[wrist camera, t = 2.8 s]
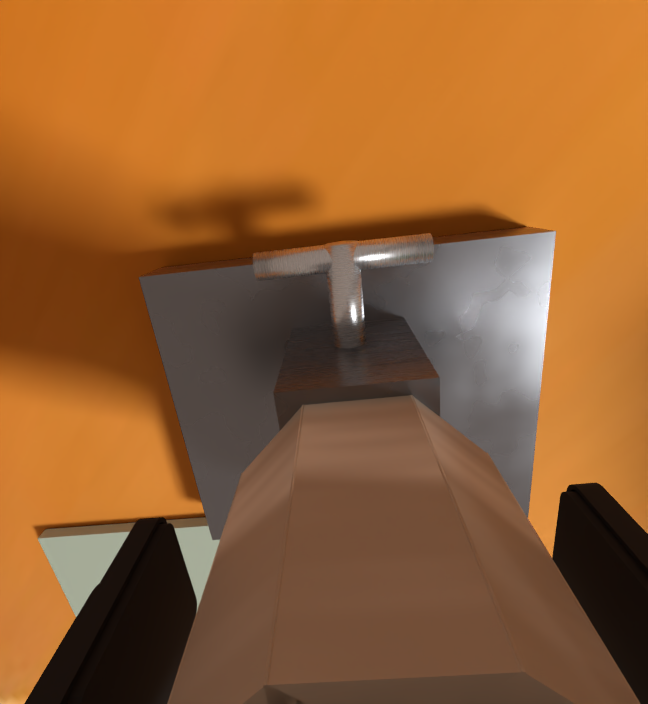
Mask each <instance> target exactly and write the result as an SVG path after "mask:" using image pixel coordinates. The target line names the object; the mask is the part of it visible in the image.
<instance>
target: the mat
mask: <svg viewBox="0 0 648 704" xmlns="http://www.w3.org/2000/svg"><path fill="white" fill-rule="evenodd" d="M166 521H167V523H171V524H173V527H174V529H175V533H176V536H177V539H178V542H179V545H180V548H181V551H182V555H183V558H184V561H185V564H186V567H187V570H188V573H189V577H190V580H191V583H192V586H193V589H194V592H195V595H196V599H197V610H198V607H199V604H200V601H201V598H202V595H203V591H204V588H205V585H206V582H207V579H208V576H209V573H210V570H211V567H212V563H213V560H214V557H215V554H216V551H217V548H218V545H219V542H220V540H212V537H211V534H210V530H209V526H208V523H207V519H206V517H201V518H188V519H175V520H166ZM135 523H136V522H135ZM135 523H121V524H108V525H95V526H81V527H68V528H55V529H45V530H44V532H43V533H42V534H41V535H40V536H39V537H38V540H39V542H40V544H41V546H42V548H43V550H44V552H45V554H46V556H47V559H48V561H49V563H50V565H51V567H52V569H53V571H54V573H55V575H56V577H57V579H58V581H59V583H60V585H61V587H62V589H63V591H64V593H65V595H66V597H67V599H68V601H69V603H70V605H71V608H72V610H73V612H74V614H75V616H76V617H77V615H78V614H79V612H80V610H81V609H82V607H83V605H84V604H85V602H86V600H87V599H88V597H89V595H90V594H91V592H92V591H93V590H94V588H95V587H96V586H97V585H98V584H99V583H100V582H101V580H102V578H103V576H104V575H105V573H106V571H107V570H108V568H109V566H110V565H111V563H112V561H113V560H114V558H115V556H116V555H117V553H118V551H119V550H120V548H121V546H122V544H123V543H124V541H125V539H126V538H127V536H128V534H129V533H130V531H131V529H132V528H133V526H134V524H135ZM196 613H197V612H196Z"/></svg>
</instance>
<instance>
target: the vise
mask: <svg viewBox="0 0 648 704" xmlns="http://www.w3.org/2000/svg"><path fill="white" fill-rule="evenodd" d="M555 236H556V231H552V230H545V229H539V228H533V227H520V228H511V229H502V230H493V231H484V232H475V233H466V234H457V235H448V236H439V237H432V235H431V233H426V234H417V235H408V236H399V237H390V238H381V239H372V240H364V241H356V240H349V241H338V242H332V243H327V244H324V245H319V246H310V247H301V248H292V249H283V250H274V251H265V252H256V253H253V257H250V258H241V259H232V260H223V261H214V262H205V263H196V264H187V265H178V266H169V267H161V268H159V269H157V270H154V271H152V272H150V273H147V274H145V275H143V276H140V277H139V280H140V284H141V287H142V291H143V294H144V298H145V302H146V305H147V309H148V312H149V316H150V319H151V323H152V327H153V330H154V334H155V337H156V341H157V344H158V348H159V352H160V355H161V359H162V362H163V366H164V369H165V373H166V377H167V380H168V384H169V387H170V391H171V394H172V398H173V402H174V405H175V409H176V412H177V416H178V419H179V423H180V426H181V430H182V434H183V437H184V441H185V444H186V448H187V451H188V455H189V459H190V462H191V466H192V469H193V473H194V476H195V480H196V484H197V487H198V491H199V494H200V498H201V501H202V505H203V509H204V512H205V516H206V519H207V523H208V526H209V530H210V534H211V537H212V540H220V539H221V535H222V532H223V529H224V526H225V523H226V520H227V517H228V514H229V511H230V508H231V504H232V501H233V498H234V495H235V492H236V489H237V486H238V483H239V480H240V476H241V473H243V472H244V471H245V469H246V468H247V467H248V466H249V465H250V464H251V463H252V462H253V460H254V459H255V458H256V457H257V456H258V455H259V454H260V453H261V451H262V450H263V449H264V448H265V447H266V446H267V445H268V444H269V442H270V441H271V440H272V439H273V438H274V437H275V436H276V435H277V434H278V432H279V431H280V430H281V429H282V428H283V427H284V426H285V425H286V423H287V422H288V421H289V420H290V419H291V418H292V417H293V416H294V414H295V413H296V412H297V411H298V410H299V409H300V408H301V407H302V405H303V404H304V405H308V404H320V403H331V402H342V401H353V400H364V399H375V398H386V397H398V396H409V395H413V397H415V398H416V399H417V400H419V401H420V402H421V403H423V404H424V405H425V406H426V407H428V408H429V409H430V410H432V411H433V412H434V413H436V414H437V415H438V416H439V417H441V418H442V419H443V420H445V421H446V422H447V423H449V424H450V425H451V426H452V427H454V428H455V429H456V430H458V431H459V432H460V433H462V434H463V435H464V436H465V437H467V438H468V439H469V440H471V441H472V442H473V443H475V444H476V445H477V446H478V447H480V448H481V449H482V450H484V451H485V452H486V453H488V454H489V456H490V457H491V459H492V461H493V462H494V464H495V466H496V467H497V469H498V470H499V472H500V474H501V475H502V477H503V479H504V480H505V482H506V484H507V485H508V487H509V489H510V490H511V492H512V493H513V495H514V497H515V498H516V500H517V502H518V503H519V505H520V507H521V508H522V510H523V512H524V513H525V515H526V516H527V518H528V512H529V502H530V492H531V482H532V471H533V461H534V451H535V441H536V430H537V420H538V410H539V400H540V389H541V379H542V369H543V359H544V348H545V338H546V328H547V318H548V307H549V297H550V287H551V277H552V266H553V256H554V246H555Z"/></svg>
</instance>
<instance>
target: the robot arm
mask: <svg viewBox="0 0 648 704" xmlns="http://www.w3.org/2000/svg"><path fill="white" fill-rule="evenodd" d="M552 559H553V561H554V562H555V564H556V566H557V567H558V569H559V571H560V572H561V574H562V576H563V577H564V579H565V581H566V582H567V584H568V585H569V587H570V589H571V590H572V592H573V594H574V595H575V597H576V599H577V600H578V602H579V604H580V605H581V607H582V608H583V610H584V612H585V613H586V615H587V617H588V618H589V620H590V622H591V623H592V625H593V627H594V628H595V630H596V631H597V633H598V635H599V636H600V638H601V640H602V641H603V643H604V645H605V646H606V648H607V650H608V651H609V653H610V654H611V656H612V658H613V659H614V661H615V663H616V664H617V666H618V668H619V669H620V671H621V673H622V674H623V676H624V677H625V679H626V681H627V682H628V684H629V686H630V687H631V689H632V691H633V692H634V694H635V696H636V697H637V699H638V700H639V702H640V704H648V534H647V533H646V532H645V531H644V530H643V529H642V528H641V527H640V526H639V524H638V523H637V522H636V521H635V520H634V519H633V518H632V517H631V516H630V515H629V514H628V513H627V512H626V511H625V510H624V509H623V508H622V507H621V506H620V504H619V503H618V502H617V501H616V500H615V499H614V498H613V497H612V496H611V495H610V494H609V493H608V492H607V491H606V490H605V489H604V488H603V487H602V486H601V485H600V484H598V483H586V484H574V485H569V486H568V488H567V491H566V492H562V493H561V496H560V503H559V511H558V519H557V527H556V534H555V542H554V550H553V558H552ZM196 612H197V599H196V595H195V592H194V589H193V586H192V583H191V580H190V577H189V573H188V570H187V567H186V564H185V561H184V558H183V555H182V551H181V548H180V545H179V542H178V539H177V536H176V533H175V529H174V527H173V524H171V523H167V521H166V519H164V518H149V519H139V520H138V521H137V522H136V523H135V524H134V526H133V528H132V529H131V531H130V533H129V534H128V536H127V538H126V539H125V541H124V543H123V544H122V546H121V548H120V550H119V551H118V553H117V555H116V556H115V558H114V560H113V561H112V563H111V565H110V566H109V568H108V570H107V571H106V573H105V575H104V576H103V578H102V580H101V582H100V583H99V584H98V585H97V586H96V587H95V588H94V590H93V591H92V592H91V594H90V595H89V597H88V599H87V600H86V602H85V604H84V605H83V607H82V609H81V610H80V612H79V614H78V615H77V617H76V619H75V620H74V622H73V624H72V625H71V627H70V629H69V630H68V632H67V634H66V635H65V637H64V639H63V640H62V642H61V644H60V645H59V647H58V649H57V650H56V652H55V654H54V655H53V657H52V659H51V660H50V662H49V664H48V665H47V667H46V669H45V670H44V672H43V674H42V675H41V677H40V679H39V680H38V682H37V684H36V685H35V687H34V689H33V690H32V692H31V694H30V695H29V697H28V699H27V700H26V702H25V704H167V703H168V700H169V697H170V694H171V691H172V688H173V685H174V681H175V678H176V675H177V672H178V669H179V666H180V663H181V660H182V657H183V654H184V650H185V647H186V644H187V641H188V638H189V635H190V632H191V629H192V626H193V622H194V619H195V616H196Z"/></svg>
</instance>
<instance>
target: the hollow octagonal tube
mask: <svg viewBox="0 0 648 704" xmlns="http://www.w3.org/2000/svg"><path fill="white" fill-rule="evenodd" d="M167 704H640V702H639V700H638V699H637V697H636V696H635V694H634V692H633V691H632V689H631V687H630V686H629V684H628V682H627V681H626V679H625V677H624V676H623V674H622V673H621V671H620V669H619V668H618V666H617V664H616V663H615V661H614V659H613V658H612V656H611V654H610V653H609V651H608V650H607V648H606V646H605V645H604V643H603V641H602V640H601V638H600V636H599V635H598V633H597V631H596V630H595V628H594V627H593V625H592V623H591V622H590V620H589V618H588V617H587V615H586V613H585V612H584V610H583V608H582V607H581V605H580V604H579V602H578V600H577V599H576V597H575V595H574V594H573V592H572V590H571V589H570V587H569V585H568V584H567V582H566V581H565V579H564V577H563V576H562V574H561V572H560V571H559V569H558V567H557V566H556V564H555V562H554V561H553V559H552V558H551V556H550V554H549V553H548V551H547V549H546V548H545V546H544V544H543V543H542V541H541V539H540V538H539V536H538V535H537V533H536V531H535V530H534V528H533V526H532V525H531V523H530V521H529V520H528V518H527V516H526V515H525V513H524V512H523V510H522V508H521V507H520V505H519V503H518V502H517V500H516V498H515V497H514V495H513V493H512V492H511V490H510V489H509V487H508V485H507V484H506V482H505V480H504V479H503V477H502V475H501V474H500V472H499V470H498V469H497V467H496V466H495V464H494V462H493V461H492V459H491V457H490V456H489V454H488V453H486V452H485V451H484V450H482V449H481V448H480V447H478V446H477V445H476V444H475V443H473V442H472V441H471V440H469V439H468V438H467V437H465V436H464V435H463V434H462V433H460V432H459V431H458V430H456V429H455V428H454V427H452V426H451V425H450V424H449V423H447V422H446V421H445V420H443V419H442V418H441V417H439V416H438V415H437V414H436V413H434V412H433V411H432V410H430V409H429V408H428V407H426V406H425V405H424V404H423V403H421V402H420V401H419V400H417V399H416V398H415V397H413V395H409V396H398V397H386V398H375V399H364V400H353V401H342V402H331V403H320V404H308V405H304V404H303V405H302V407H301V408H300V409H299V410H298V411H297V412H296V413H295V414H294V416H293V417H292V418H291V419H290V420H289V421H288V422H287V423H286V425H285V426H284V427H283V428H282V429H281V430H280V431H279V432H278V434H277V435H276V436H275V437H274V438H273V439H272V440H271V441H270V442H269V444H268V445H267V446H266V447H265V448H264V449H263V450H262V451H261V453H260V454H259V455H258V456H257V457H256V458H255V459H254V460H253V462H252V463H251V464H250V465H249V466H248V467H247V468H246V469H245V471H244V472H243V473H241V476H240V480H239V483H238V486H237V489H236V492H235V495H234V498H233V501H232V504H231V508H230V511H229V514H228V517H227V520H226V523H225V526H224V529H223V532H222V535H221V539H220V542H219V545H218V548H217V551H216V554H215V557H214V560H213V563H212V567H211V570H210V573H209V576H208V579H207V582H206V585H205V588H204V591H203V595H202V598H201V601H200V604H199V607H198V610H197V613H196V616H195V619H194V622H193V626H192V629H191V632H190V635H189V638H188V641H187V644H186V647H185V650H184V654H183V657H182V660H181V663H180V666H179V669H178V672H177V675H176V678H175V681H174V685H173V688H172V691H171V694H170V697H169V700H168V703H167Z"/></svg>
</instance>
